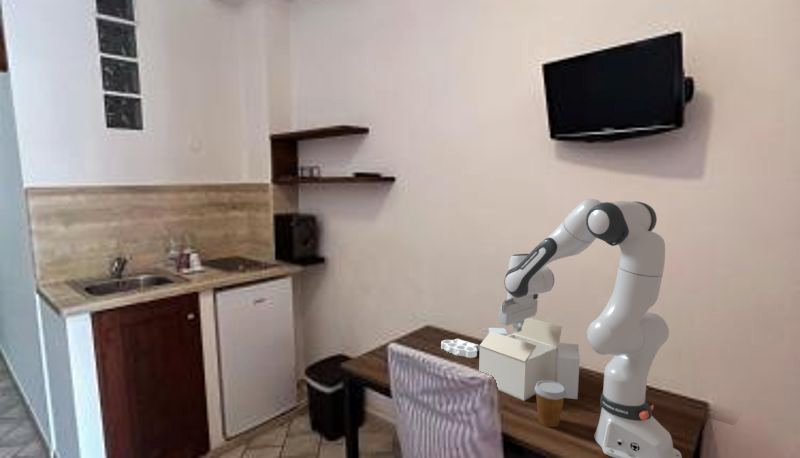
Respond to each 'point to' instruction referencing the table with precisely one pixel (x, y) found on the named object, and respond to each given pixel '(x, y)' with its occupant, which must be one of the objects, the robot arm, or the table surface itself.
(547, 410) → the disposable coffee cup
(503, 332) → the supplement box
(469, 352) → the knuckle duster
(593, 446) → the table surface
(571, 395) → the milk carton
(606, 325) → the robot arm
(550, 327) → the far flap
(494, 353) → the carton
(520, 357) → the near flap
